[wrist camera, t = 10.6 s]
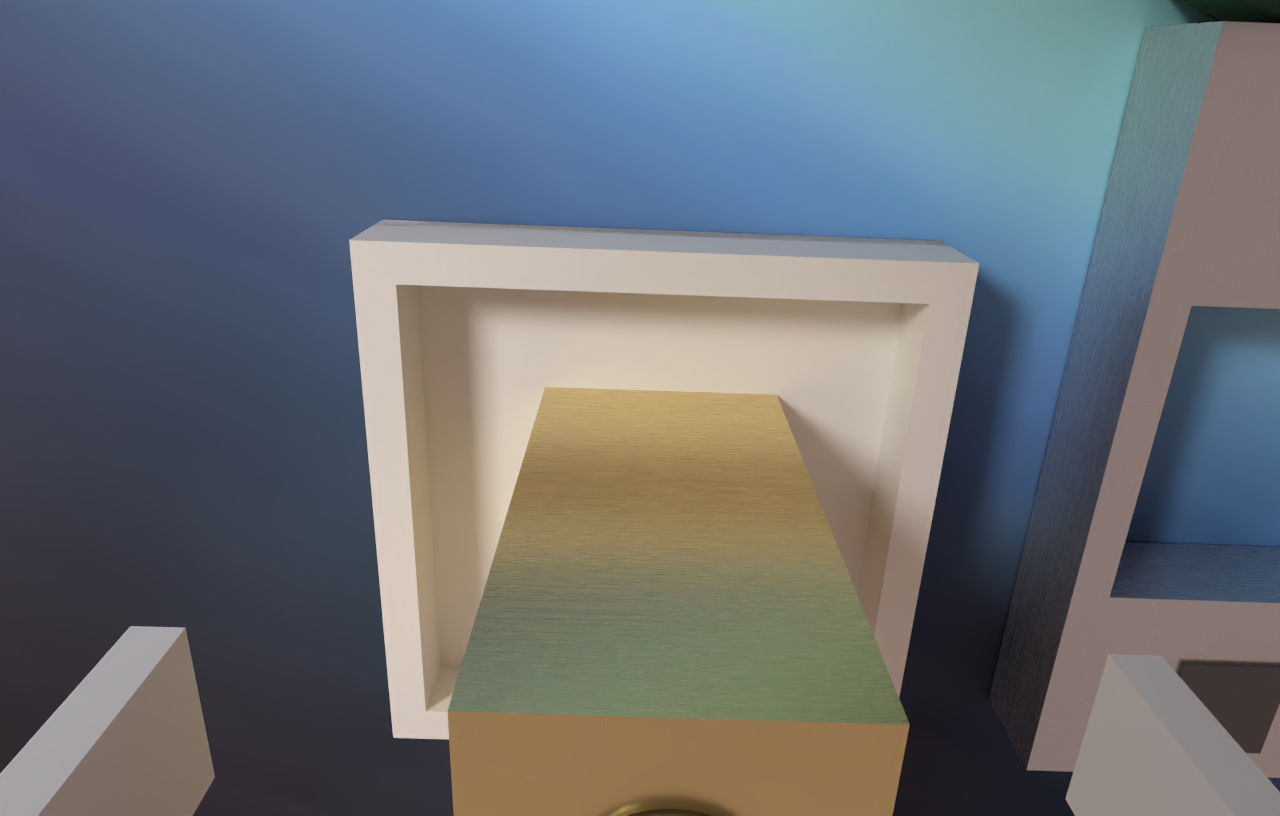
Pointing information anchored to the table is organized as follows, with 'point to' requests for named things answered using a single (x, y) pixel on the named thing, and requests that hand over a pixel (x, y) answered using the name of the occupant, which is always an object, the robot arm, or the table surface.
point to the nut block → (670, 626)
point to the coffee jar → (1241, 10)
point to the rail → (1154, 411)
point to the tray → (640, 360)
